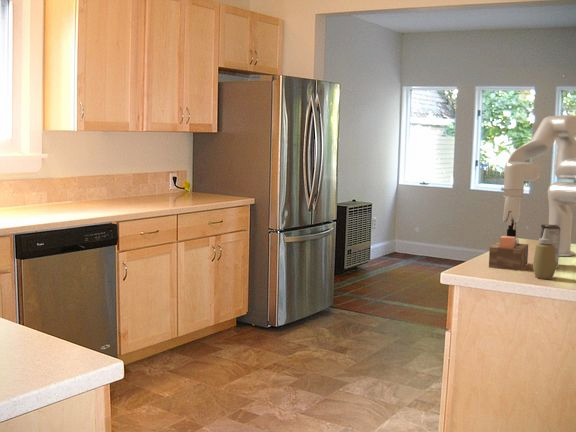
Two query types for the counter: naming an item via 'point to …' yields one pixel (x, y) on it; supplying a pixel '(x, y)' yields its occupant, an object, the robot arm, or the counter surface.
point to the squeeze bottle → (544, 257)
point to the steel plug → (516, 242)
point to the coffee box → (553, 238)
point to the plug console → (508, 257)
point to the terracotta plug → (507, 242)
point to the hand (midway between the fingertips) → (511, 239)
